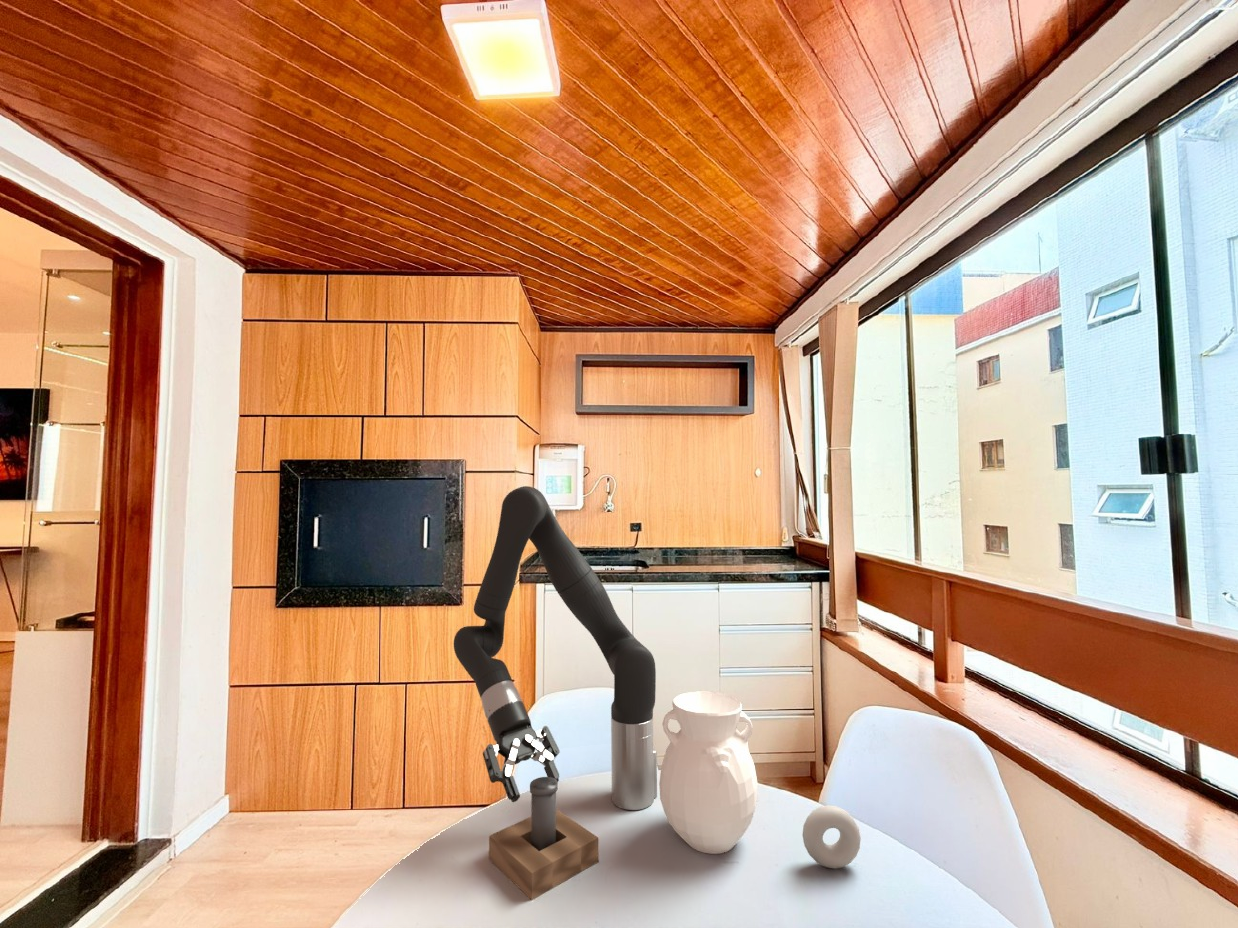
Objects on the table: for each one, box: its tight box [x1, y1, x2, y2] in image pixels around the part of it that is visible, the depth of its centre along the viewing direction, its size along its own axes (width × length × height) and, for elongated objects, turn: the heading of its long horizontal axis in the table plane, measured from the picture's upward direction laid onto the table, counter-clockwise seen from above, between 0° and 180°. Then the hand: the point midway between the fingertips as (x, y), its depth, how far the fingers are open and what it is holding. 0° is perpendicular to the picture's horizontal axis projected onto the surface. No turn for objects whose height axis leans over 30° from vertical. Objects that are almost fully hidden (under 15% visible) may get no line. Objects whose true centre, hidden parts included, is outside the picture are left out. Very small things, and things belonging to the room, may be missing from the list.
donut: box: [802, 804, 862, 869], centre depth 93 cm, size 10×3×10 cm, turn 90°
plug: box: [529, 776, 559, 851], centre depth 95 cm, size 5×5×13 cm
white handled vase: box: [658, 690, 759, 855], centre depth 102 cm, size 19×18×25 cm
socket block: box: [488, 808, 600, 901], centre depth 95 cm, size 14×14×4 cm
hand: (536, 791), depth 97 cm, fingers open, 8 cm apart
